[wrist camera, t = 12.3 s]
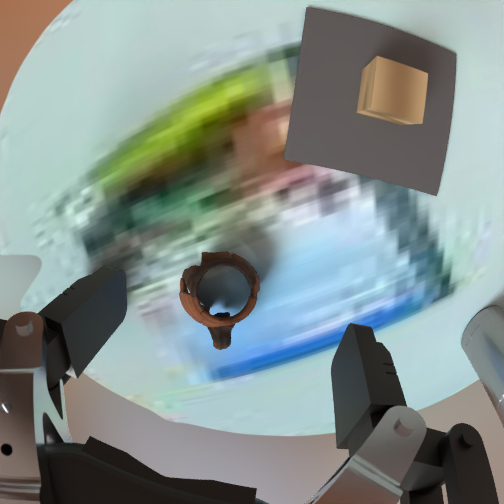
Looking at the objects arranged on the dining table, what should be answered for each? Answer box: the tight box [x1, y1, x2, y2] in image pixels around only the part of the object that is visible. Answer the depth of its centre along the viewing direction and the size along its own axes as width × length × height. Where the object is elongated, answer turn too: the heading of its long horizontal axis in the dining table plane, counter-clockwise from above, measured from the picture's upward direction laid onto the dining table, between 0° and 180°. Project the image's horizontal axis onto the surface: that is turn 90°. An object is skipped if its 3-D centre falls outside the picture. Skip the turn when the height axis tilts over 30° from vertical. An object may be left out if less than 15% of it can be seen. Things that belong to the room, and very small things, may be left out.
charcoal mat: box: [284, 7, 456, 196], centre depth 26 cm, size 18×18×1 cm
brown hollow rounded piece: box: [179, 252, 259, 350], centre depth 35 cm, size 12×10×8 cm
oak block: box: [357, 56, 428, 125], centre depth 23 cm, size 5×5×6 cm
